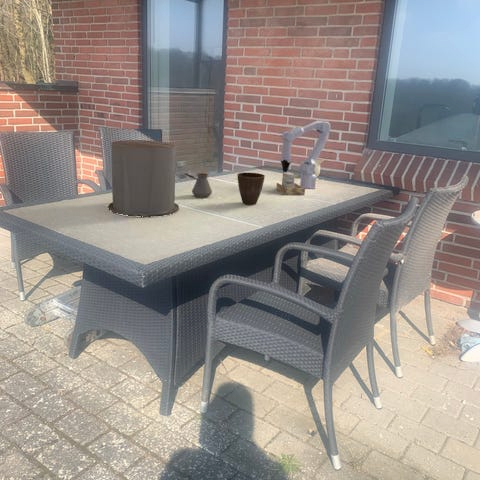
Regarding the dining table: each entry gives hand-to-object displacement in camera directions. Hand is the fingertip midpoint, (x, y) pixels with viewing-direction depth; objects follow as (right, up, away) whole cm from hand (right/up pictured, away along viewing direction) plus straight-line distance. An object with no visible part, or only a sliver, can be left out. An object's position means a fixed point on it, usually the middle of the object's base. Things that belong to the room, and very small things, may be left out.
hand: (284, 172), depth 321 cm
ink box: (+1, -14, -8) cm, 16 cm away
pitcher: (+23, +2, +46) cm, 51 cm away
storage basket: (-77, -28, -68) cm, 107 cm away
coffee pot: (-54, -20, -38) cm, 68 cm away
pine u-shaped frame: (+2, -13, -8) cm, 16 cm away
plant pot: (-24, -24, -45) cm, 56 cm away
